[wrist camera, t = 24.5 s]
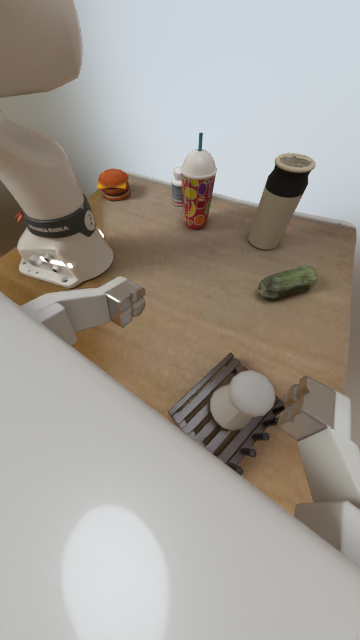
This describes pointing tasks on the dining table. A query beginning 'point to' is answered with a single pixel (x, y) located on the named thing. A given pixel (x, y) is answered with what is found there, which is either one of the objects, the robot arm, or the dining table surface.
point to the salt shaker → (242, 400)
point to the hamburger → (114, 184)
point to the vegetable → (287, 282)
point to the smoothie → (197, 186)
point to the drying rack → (217, 440)
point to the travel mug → (280, 199)
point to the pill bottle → (177, 187)
